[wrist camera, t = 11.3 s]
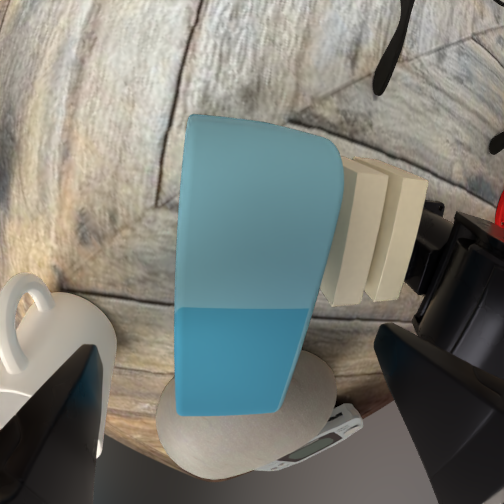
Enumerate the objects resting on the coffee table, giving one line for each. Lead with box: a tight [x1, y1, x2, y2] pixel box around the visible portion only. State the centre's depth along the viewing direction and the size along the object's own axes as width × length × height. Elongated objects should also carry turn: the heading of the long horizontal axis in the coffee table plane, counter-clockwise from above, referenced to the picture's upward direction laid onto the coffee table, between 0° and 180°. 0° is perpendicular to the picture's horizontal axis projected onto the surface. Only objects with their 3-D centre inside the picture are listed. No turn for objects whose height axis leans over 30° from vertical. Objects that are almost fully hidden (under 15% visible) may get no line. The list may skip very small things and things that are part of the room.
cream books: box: [320, 155, 428, 307], centre depth 20 cm, size 5×8×6 cm, turn 177°
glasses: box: [373, 0, 504, 155], centre depth 15 cm, size 17×18×5 cm
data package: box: [174, 114, 344, 416], centre depth 15 cm, size 12×4×12 cm, turn 172°
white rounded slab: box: [156, 350, 337, 479], centre depth 26 cm, size 19×7×16 cm
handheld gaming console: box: [254, 403, 363, 471], centre depth 33 cm, size 14×3×8 cm
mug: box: [0, 272, 117, 458], centre depth 17 cm, size 12×8×10 cm
